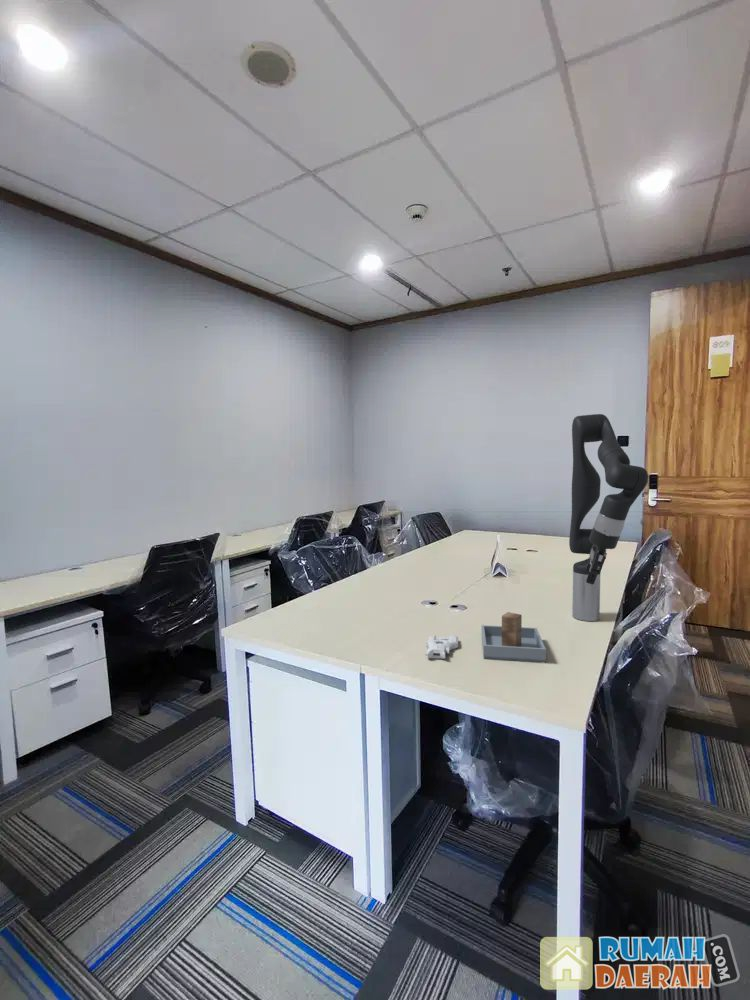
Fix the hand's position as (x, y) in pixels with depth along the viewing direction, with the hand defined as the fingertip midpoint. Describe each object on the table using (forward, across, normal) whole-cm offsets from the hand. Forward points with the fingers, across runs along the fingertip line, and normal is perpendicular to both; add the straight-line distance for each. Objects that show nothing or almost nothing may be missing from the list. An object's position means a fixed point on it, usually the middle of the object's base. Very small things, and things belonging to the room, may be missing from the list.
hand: (589, 577), depth 140 cm
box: (+26, +12, -16) cm, 33 cm away
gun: (+30, +21, -35) cm, 51 cm away
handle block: (+25, +12, -16) cm, 32 cm away
